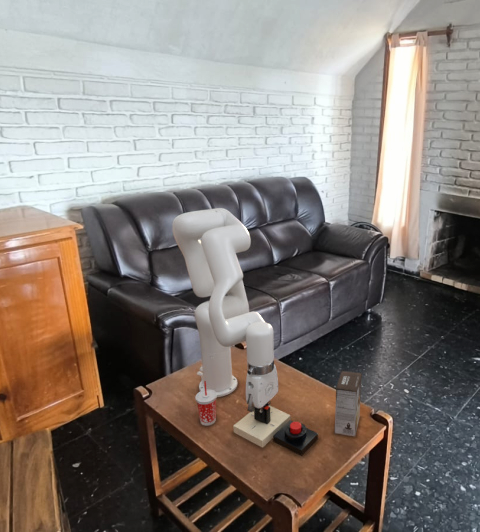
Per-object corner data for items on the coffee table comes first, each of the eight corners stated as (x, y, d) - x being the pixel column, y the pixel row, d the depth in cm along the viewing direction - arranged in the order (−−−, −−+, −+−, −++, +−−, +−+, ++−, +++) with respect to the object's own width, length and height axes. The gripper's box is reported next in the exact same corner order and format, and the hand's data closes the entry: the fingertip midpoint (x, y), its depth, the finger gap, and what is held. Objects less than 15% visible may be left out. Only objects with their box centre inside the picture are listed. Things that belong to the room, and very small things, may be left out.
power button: (287, 431, 124) (287, 426, 124) (294, 425, 127) (294, 420, 126) (296, 435, 123) (296, 430, 122) (303, 429, 125) (303, 424, 124)
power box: (273, 441, 125) (272, 430, 124) (290, 426, 132) (290, 415, 130) (301, 456, 120) (301, 445, 119) (317, 439, 127) (318, 428, 125)
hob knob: (254, 419, 130) (253, 404, 128) (257, 415, 132) (256, 401, 130) (267, 424, 128) (267, 409, 126) (270, 421, 130) (270, 406, 128)
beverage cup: (207, 430, 129) (204, 390, 124) (193, 422, 132) (189, 382, 127) (222, 418, 134) (220, 379, 129) (208, 411, 137) (205, 372, 132)
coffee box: (339, 413, 137) (341, 369, 132) (359, 416, 136) (362, 372, 131) (334, 433, 129) (335, 387, 123) (355, 437, 128) (358, 391, 122)
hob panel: (233, 432, 128) (233, 425, 127) (262, 408, 139) (262, 401, 138) (262, 447, 123) (262, 440, 122) (290, 422, 133) (290, 414, 132)
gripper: (254, 383, 115) (256, 439, 122) (287, 356, 128) (287, 408, 135) (231, 374, 119) (235, 430, 125) (266, 349, 132) (267, 400, 138)
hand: (262, 418), depth 130 cm, fingers closed, pressing on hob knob
